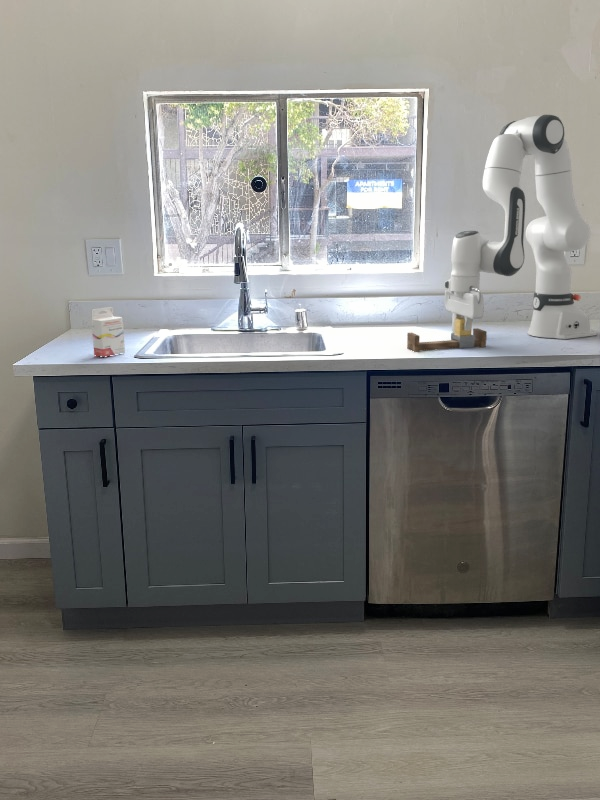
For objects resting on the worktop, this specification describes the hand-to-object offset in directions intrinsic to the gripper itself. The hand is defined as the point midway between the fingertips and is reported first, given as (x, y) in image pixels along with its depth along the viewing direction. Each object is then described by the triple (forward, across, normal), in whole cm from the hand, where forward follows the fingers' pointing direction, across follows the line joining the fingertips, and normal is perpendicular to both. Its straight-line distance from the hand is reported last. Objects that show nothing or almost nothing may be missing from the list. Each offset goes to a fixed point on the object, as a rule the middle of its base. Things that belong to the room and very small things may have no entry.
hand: (463, 329), depth 230 cm
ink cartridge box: (+6, +24, +108) cm, 111 cm away
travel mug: (+6, +16, -8) cm, 19 cm away
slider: (+6, 0, 0) cm, 6 cm away
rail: (+6, 0, +6) cm, 8 cm away
